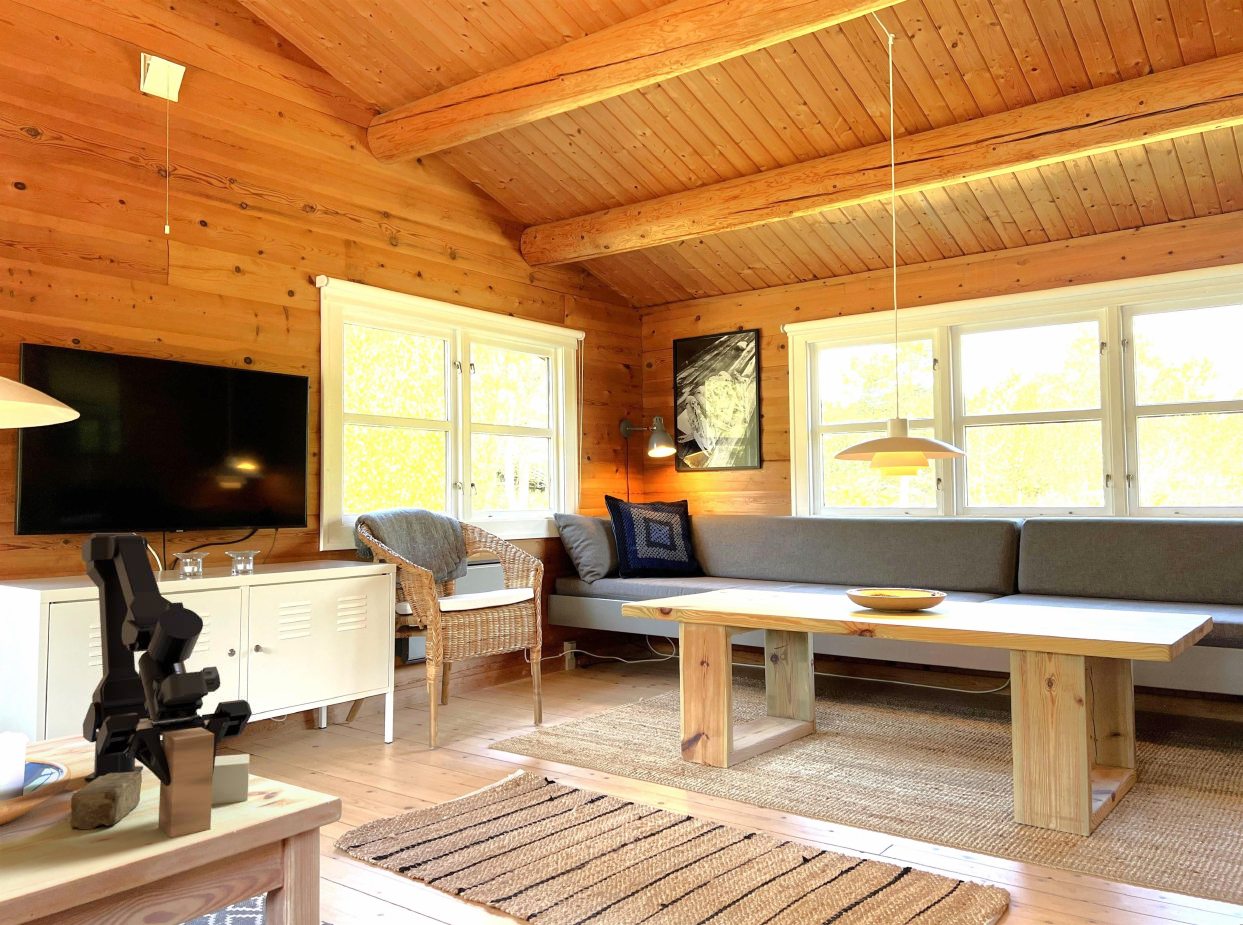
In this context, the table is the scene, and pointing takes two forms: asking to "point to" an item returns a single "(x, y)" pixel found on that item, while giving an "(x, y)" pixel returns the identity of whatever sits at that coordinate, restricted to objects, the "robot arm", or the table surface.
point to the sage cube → (230, 778)
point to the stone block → (105, 800)
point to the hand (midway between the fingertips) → (190, 780)
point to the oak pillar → (187, 782)
